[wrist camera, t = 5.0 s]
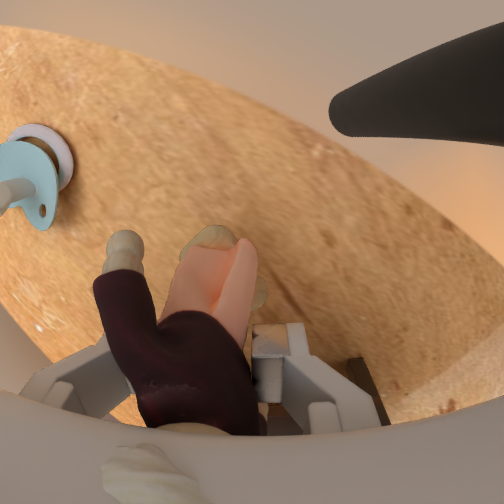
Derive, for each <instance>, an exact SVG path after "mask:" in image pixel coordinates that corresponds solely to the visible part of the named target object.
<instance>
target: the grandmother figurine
mask: <svg viewBox="0 0 504 504" xmlns="http://www.w3.org/2000/svg"><path fill="white" fill-rule="evenodd" d="M106 253H107V259H106V260H105V262H104V265H103V270H102V275H100V276H99V277H97V278H96V279H95V280H94V282H93V292H94V297H95V301H96V304H97V307H98V309H99V313H100V317H101V321H102V324H103V327H104V331H105V334H106V338H107V342H108V345H109V347H110V350H111V353H112V355H113V357H114V359H115V361H116V363H117V365H118V366H119V368H120V370H121V371H122V373H123V374H124V375H125V377H126V378H127V379H128V380H129V382H130V383H131V386H132V388H133V390H134V392H135V394H136V398H137V404H138V409H139V412H140V414H141V416H142V418H143V420H144V422H145V424H146V426H147V427H148V428H154V429H162V430H169V431H176V432H183V433H198V434H214V435H234V436H267V433H268V423H267V414H268V404H267V403H258V401H257V396H256V393H255V389H254V386H253V383H252V380H251V371H250V367H249V365H248V362H247V360H246V358H245V355H244V353H243V347H244V343H245V341H246V336H247V330H248V323H249V318H250V312H251V311H252V310H256V309H258V308H260V307H261V306H262V305H263V304H264V303H265V301H266V299H267V295H268V289H267V285H266V282H265V280H264V279H263V278H262V277H261V276H260V275H258V274H257V271H258V255H257V251H256V249H255V247H254V246H253V245H252V243H251V242H250V241H249V240H247V239H245V238H240V239H239V241H237V239H236V238H235V236H234V235H233V234H232V232H231V231H230V230H228V229H227V228H225V227H223V226H220V225H211V226H208V227H206V228H204V229H203V230H201V231H200V232H199V233H198V234H197V235H196V236H195V237H194V238H193V239H192V240H191V241H190V242H189V243H188V244H187V245H186V246H185V247H184V248H183V249H182V251H181V253H180V256H179V260H180V263H179V265H178V266H177V269H176V271H175V274H174V277H173V279H172V282H171V285H170V290H169V295H168V298H167V301H166V304H165V307H164V309H163V312H162V314H161V317H160V319H159V321H158V323H157V322H156V313H155V307H154V304H153V300H152V296H151V293H150V291H149V288H148V286H147V283H146V279H145V277H144V268H143V264H142V262H141V261H142V259H143V256H144V243H143V240H142V239H141V237H140V236H139V235H138V234H137V233H135V232H133V231H131V230H120V231H118V232H116V233H114V234H113V235H112V236H111V237H110V239H109V240H108V243H107V248H106ZM101 469H102V471H103V475H102V480H103V489H104V490H105V491H106V492H107V493H109V494H110V495H112V496H113V497H114V498H116V499H117V500H118V501H120V502H121V503H122V504H213V503H212V502H207V501H205V500H204V499H203V497H202V495H201V493H200V486H199V481H198V480H196V479H194V478H192V477H189V476H187V475H184V474H182V473H181V472H180V471H179V470H177V469H176V467H175V466H174V465H173V464H172V463H171V461H170V460H169V459H168V458H167V456H166V454H165V453H164V452H163V450H161V449H160V448H158V447H156V446H153V445H150V444H147V443H139V444H137V445H136V448H132V447H127V446H117V447H116V449H115V452H114V453H113V454H112V455H111V457H110V458H109V460H108V461H107V462H105V463H104V464H102V465H101Z"/></svg>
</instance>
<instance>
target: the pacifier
mask: <svg viewBox="0 0 504 504" xmlns="http://www.w3.org/2000/svg"><path fill="white" fill-rule="evenodd" d="M29 136H33V137H36V138H39V139H41V140H43V141H45V142H46V143H47V144H48V145H49V146H50V147H51V148H52V149H53V151H54V152H55V154H56V156H57V158H58V162H59V174H58V176H57V172H56V169H55V166H54V164H53V162H52V160H51V158H50V157H49V156H48V154H47V153H46V152H45V151H43V150H42V149H41V148H40V147H38V146H36V145H34V144H31V143H28V142H24V141H21V140H22V139H24V138H25V137H29ZM73 167H74V164H73V158H72V154H71V152H70V149H69V147H68V145H67V144H66V142H65V141H64V140H63V138H62V137H61V136H60V135H59V134H57V133H56V132H55V131H54V130H52V129H50V128H48V127H47V126H44V125H40V124H25V125H22V126H19V127H18V128H17V129H15V130H14V131H13V132H12V133H11V134H10V136H9V137H8V139H7V141H6V142H5V143H3V144H0V181H1V182H0V217H1V216H2V215H3V214H4V213H5V212H6V210H7V209H8V208H14V207H17V206H20V207H22V208H23V211H24V213H25V215H26V217H27V218H28V220H29V221H30V223H31V224H32V225H33V226H34V227H35V228H36V229H38V230H40V231H45V230H46V229H48V228H49V227H50V226H51V225H52V224H53V222H54V219H55V216H56V212H57V206H58V195H59V191H60V190H62V189H63V188H64V187H65V186H66V185H67V184H68V183H69V181H70V179H71V177H72V174H73ZM43 204H44V205H45V207H46V215H45V217H43V215H42V212H41V208H42V205H43Z"/></svg>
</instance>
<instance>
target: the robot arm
mask: <svg viewBox="0 0 504 504" xmlns="http://www.w3.org/2000/svg"><path fill="white" fill-rule="evenodd" d="M156 322H157V323H158V321H156ZM251 364H252V383H253V386H254V389H255V393H256V396H257V401H258V403H281V404H282V406H283V407H284V408H285V409H286V411H287V412H288V413H289V414H290V415H291V417H292V418H293V419H294V420H295V421H296V423H297V424H298V425H299V426H300V427H301V428H302V430H303V431H304V432H303V435H292V436H234V435H214V434H198V433H183V432H176V431H169V430H162V429H154V428H148V427H141V426H135V425H129V424H124V423H118V422H113V421H108V420H103V419H101V418H102V417H104V416H105V415H106V414H108V413H109V412H110V411H111V410H113V409H114V408H115V407H116V406H117V405H119V404H120V403H121V402H122V401H124V400H125V399H126V398H127V397H128V396H130V394H135V392H134V390H133V388H132V386H131V383H130V382H129V380H128V379H127V378H126V377H125V375H124V374H123V373H122V371H121V370H120V368H119V366H118V365H117V363H116V361H115V359H114V357H113V355H112V353H111V350H110V347H109V345H108V342H107V338H106V334H105V333H104V334H103V335H102V337H101V338H100V340H99V341H98V343H97V344H96V346H95V345H91V346H89V347H87V348H85V349H83V350H81V351H79V352H77V353H75V354H73V355H70V356H68V357H66V358H64V359H62V360H60V361H58V362H56V363H54V364H52V365H50V366H48V367H46V368H44V369H42V370H40V371H38V372H36V373H34V374H33V376H32V377H31V378H30V380H29V381H28V382H27V384H26V385H25V386H24V388H23V389H22V391H21V392H20V393H19V395H15V394H13V393H10V392H7V391H5V390H2V389H0V504H122V503H121V502H120V501H118V500H117V499H116V498H114V497H113V496H112V495H110V494H109V493H107V492H106V491H105V490H104V489H103V480H102V475H103V471H102V469H101V465H102V464H104V463H105V462H107V461H108V460H109V458H110V457H111V455H112V454H113V453H114V452H115V449H116V447H117V446H127V447H132V448H136V445H137V444H139V443H147V444H150V445H153V446H156V447H158V448H160V449H161V450H163V452H164V453H165V454H166V456H167V458H168V459H169V460H170V461H171V463H172V464H173V465H174V466H175V467H176V469H177V470H179V471H180V472H181V473H182V474H184V475H187V476H189V477H192V478H194V479H196V480H198V481H199V486H200V493H201V495H202V497H203V499H204V500H205V501H207V502H212V503H213V504H504V395H503V396H500V397H497V398H494V399H491V400H488V401H485V402H482V403H479V404H476V405H473V406H469V407H466V408H463V409H459V410H456V411H452V412H448V413H444V414H440V415H436V416H432V417H428V418H423V419H419V420H414V421H409V422H404V423H399V424H393V425H388V426H381V423H380V420H379V417H378V414H377V411H376V408H375V405H374V402H373V400H372V397H371V396H370V395H369V394H367V393H366V392H365V391H363V390H362V389H360V388H359V387H358V386H356V385H355V384H353V383H352V382H351V381H349V380H348V379H347V378H345V377H344V376H342V375H341V374H340V373H338V372H337V371H336V370H334V369H333V368H332V367H330V366H329V365H328V364H326V363H325V362H323V361H322V360H321V359H319V358H318V357H317V356H315V355H310V352H309V347H308V342H307V337H306V332H305V328H304V324H303V323H302V322H301V323H285V324H253V328H252V354H251Z"/></svg>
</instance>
